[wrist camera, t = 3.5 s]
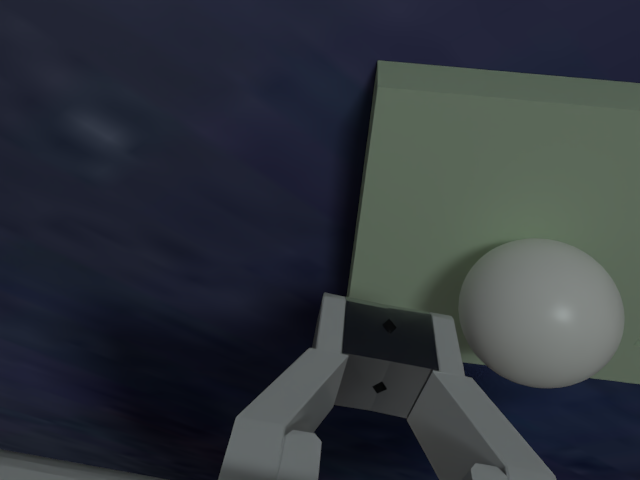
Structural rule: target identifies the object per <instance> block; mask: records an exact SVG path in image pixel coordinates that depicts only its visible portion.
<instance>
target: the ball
mask: <svg viewBox="0 0 640 480" xmlns="http://www.w3.org/2000/svg"><path fill="white" fill-rule="evenodd" d="M458 312H459V320H460V324H461V328H462V331H463V334H464V336H465V338H466V340H467V342H468V344H469V346H470V347H471V349H472V350H473V352H474V353H475V354H476V355H477V357H478V358H479V359H480V360H481V361H482V362H483V363H484V364H485V365H486V366H488V367H489V368H490V369H491V370H493V371H494V372H496V373H497V374H499V375H500V376H502V377H504V378H506V379H508V380H510V381H513V382H515V383H518V384H522V385H526V386H530V387H535V388H559V387H565V386H570V385H573V384H576V383H579V382H581V381H584V380H586V379H588V378H590V377H592V376H593V375H595V374H596V373H597V372H599V371H600V370H601V369H602V368H603V367H604V366H605V365H606V364H607V363H608V362H609V361H610V360H611V358H612V357H613V355H614V354H615V352H616V351H617V349H618V347H619V344H620V342H621V339H622V336H623V331H624V323H625V316H624V307H623V303H622V299H621V296H620V293H619V291H618V289H617V287H616V285H615V283H614V281H613V279H612V278H611V277H610V275H609V274H608V273H607V271H606V270H605V269H604V268H603V267H602V266H601V265H600V264H599V263H598V262H597V261H596V260H594V259H593V258H592V257H591V256H589V255H588V254H586V253H585V252H583V251H581V250H580V249H578V248H576V247H574V246H571V245H569V244H566V243H563V242H559V241H556V240H550V239H541V238H527V239H520V240H515V241H511V242H508V243H505V244H502V245H500V246H498V247H496V248H494V249H492V250H491V251H489V252H488V253H486V254H485V255H483V256H482V257H481V258H480V259H479V260H478V261H477V262H476V263H475V264H474V265H473V267H472V268H471V269H470V271H469V272H468V274H467V276H466V278H465V280H464V282H463V284H462V287H461V291H460V295H459V304H458Z"/></svg>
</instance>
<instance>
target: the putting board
mask: <svg viewBox="0 0 640 480" xmlns="http://www.w3.org/2000/svg"><path fill="white" fill-rule="evenodd" d="M527 238H541V239H550V240H556V241H559V242H563V243H566V244H569V245H571V246H574V247H576V248H578V249H580V250H581V251H583V252H585V253H586V254H588V255H589V256H591V257H592V258H593V259H594V260H596V261H597V262H598V263H599V264H600V265H601V266H602V267H603V268H604V269H605V270H606V271H607V273H608V274H609V275H610V277H611V278H612V279H613V281H614V283H615V285H616V287H617V289H618V291H619V293H620V296H621V299H622V303H623V307H624V316H625V323H624V331H623V336H622V339H621V342H620V344H619V347H618V349H617V351H616V352H615V354H614V355H613V357H612V358H611V360H610V361H609V362H608V363H607V364H606V365H605V366H604V367H603V368H602V369H601V370H600V371H599V372H597V373H596V374H595V375H593V376H592V377H590V378H595V379H603V380H611V381H620V382H628V383H636V384H640V83H630V82H619V81H607V80H596V79H585V78H573V77H562V76H550V75H539V74H527V73H516V72H504V71H493V70H482V69H470V68H459V67H447V66H436V65H424V64H413V63H401V62H390V61H379V60H378V62H377V69H376V77H375V85H374V92H373V100H372V108H371V115H370V123H369V130H368V138H367V146H366V153H365V161H364V168H363V176H362V184H361V191H360V199H359V206H358V214H357V222H356V229H355V237H354V244H353V252H352V260H351V267H350V275H349V283H348V290H347V297H351V298H356V299H361V300H365V301H370V302H375V303H380V304H385V305H392V306H397V307H403V308H409V309H414V310H420V311H426V312H432V313H438V314H444V315H449V316H452V318H453V319H454V323H455V328H456V333H457V338H458V343H459V348H460V353H461V358H462V362H465V363H473V364H482V365H485V364H484V363H483V362H482V361H481V360H480V359H479V358H478V357H477V355H476V354H475V353H474V352H473V350H472V349H471V347H470V346H469V344H468V342H467V340H466V338H465V336H464V334H463V331H462V328H461V324H460V320H459V312H458V304H459V295H460V291H461V287H462V284H463V282H464V280H465V278H466V276H467V274H468V272H469V271H470V269H471V268H472V267H473V265H474V264H475V263H476V262H477V261H478V260H479V259H480V258H481V257H482V256H483V255H485V254H486V253H488V252H489V251H491V250H492V249H494V248H496V247H498V246H500V245H502V244H505V243H508V242H511V241H515V240H520V239H527Z"/></svg>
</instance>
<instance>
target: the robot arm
mask: <svg viewBox="0 0 640 480" xmlns="http://www.w3.org/2000/svg"><path fill="white" fill-rule="evenodd" d="M334 405H338V406H344V407H351V408H357V409H364V410H370V411H375V412H379V413H384V414H389V415H394V416H398V417H403V418H408V419H407V422H408V423H409V425H410V427H411V429H412V431H413V432H414V434H415V436H416V438H417V440H418V442H419V443H420V445H421V447H422V449H423V451H424V452H425V454H426V456H427V458H428V460H429V462H430V463H431V465H432V467H433V469H434V471H435V472H436V474H437V476H438V478H439V480H556V477H555V475H554V474H553V473H552V472H551V470H550V469H549V468H548V467H547V466H546V465H545V463H544V462H543V461H542V460H541V459H540V458H539V456H538V455H537V454H536V453H535V452H534V450H533V449H532V448H531V447H530V446H529V445H528V443H527V442H526V441H525V440H524V439H523V437H522V436H521V435H520V434H519V433H518V432H517V430H516V429H515V428H514V427H513V426H512V424H511V423H510V422H509V421H508V420H507V419H506V417H505V416H504V415H503V414H502V413H501V412H500V410H499V409H498V408H497V407H496V406H495V404H494V403H493V402H492V401H491V400H490V399H489V397H488V396H487V395H486V394H485V393H484V391H483V390H482V389H481V388H480V387H479V386H478V384H477V383H476V382H475V381H474V380H473V379H472V378H471V377H466V376H465V373H464V368H463V363H462V358H461V353H460V348H459V343H458V338H457V333H456V328H455V323H454V319H453V318H452V316H449V315H444V314H438V313H432V312H426V311H420V310H414V309H409V308H403V307H397V306H392V305H385V304H380V303H375V302H370V301H365V300H361V299H356V298H351V297H344V296H339V295H334V294H330V293H325V292H324V294H323V297H322V302H321V306H320V311H319V315H318V320H317V324H316V329H315V334H314V339H313V344H312V348H308V349H307V350H306V351H305V352H304V353H303V354H302V355H301V356H300V357H299V358H298V359H297V360H296V361H295V362H294V363H293V364H292V365H290V366H289V367H288V368H287V369H286V370H285V371H284V372H283V373H282V374H281V375H280V376H279V377H278V378H277V379H276V380H275V381H274V382H273V383H271V384H270V385H269V386H268V387H267V388H266V389H265V390H264V391H263V392H262V393H261V394H260V395H259V396H258V397H257V398H256V399H255V400H253V401H252V402H251V403H250V404H249V405H248V406H247V407H246V408H245V409H244V410H243V411H242V412H241V413H240V414H239V415H238V416H237V417H236V419H235V423H234V426H233V430H232V433H231V436H230V440H229V443H228V447H227V450H226V454H225V457H224V461H223V464H222V468H221V471H220V474H219V478H218V480H318V474H319V464H320V453H321V443H322V442H321V440H320V439H319V438H318V437H317V436H316V434H315V433H313V432H314V431H315V430H316V429H317V427H318V426H319V425H320V423H321V422H322V421H323V420H324V418H325V417H326V416H327V414H328V413H329V412H330V411H331V409H332V408H333V406H334ZM0 480H168V479H163V478H157V477H152V476H146V475H141V474H135V473H129V472H124V471H118V470H113V469H107V468H102V467H96V466H91V465H85V464H80V463H74V462H69V461H63V460H58V459H52V458H47V457H41V456H36V455H30V454H25V453H19V452H14V451H8V450H3V449H0Z"/></svg>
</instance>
